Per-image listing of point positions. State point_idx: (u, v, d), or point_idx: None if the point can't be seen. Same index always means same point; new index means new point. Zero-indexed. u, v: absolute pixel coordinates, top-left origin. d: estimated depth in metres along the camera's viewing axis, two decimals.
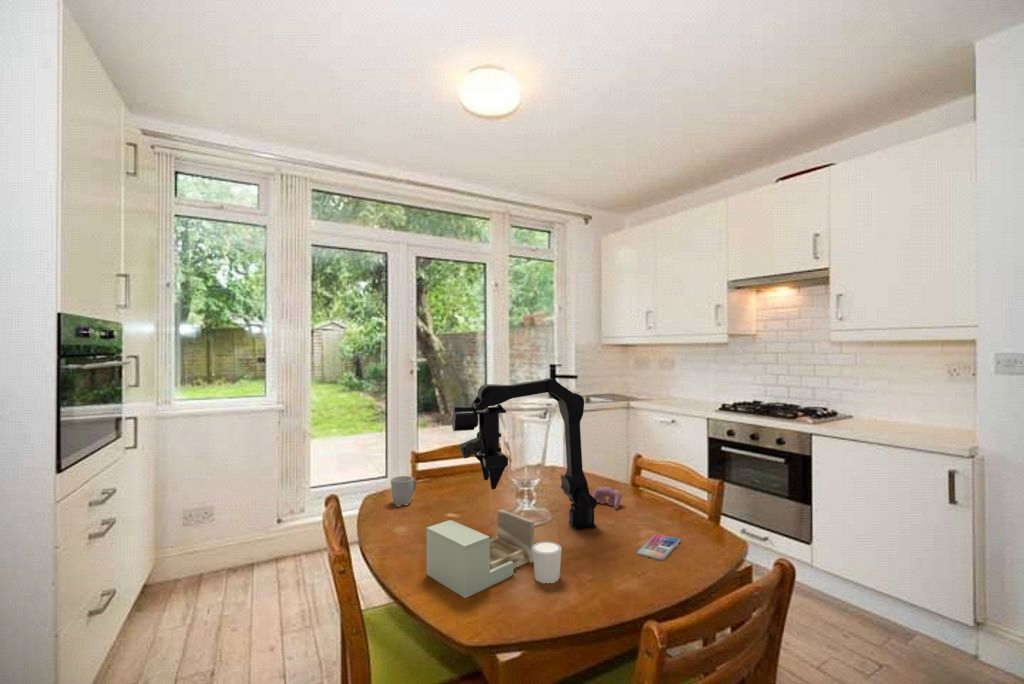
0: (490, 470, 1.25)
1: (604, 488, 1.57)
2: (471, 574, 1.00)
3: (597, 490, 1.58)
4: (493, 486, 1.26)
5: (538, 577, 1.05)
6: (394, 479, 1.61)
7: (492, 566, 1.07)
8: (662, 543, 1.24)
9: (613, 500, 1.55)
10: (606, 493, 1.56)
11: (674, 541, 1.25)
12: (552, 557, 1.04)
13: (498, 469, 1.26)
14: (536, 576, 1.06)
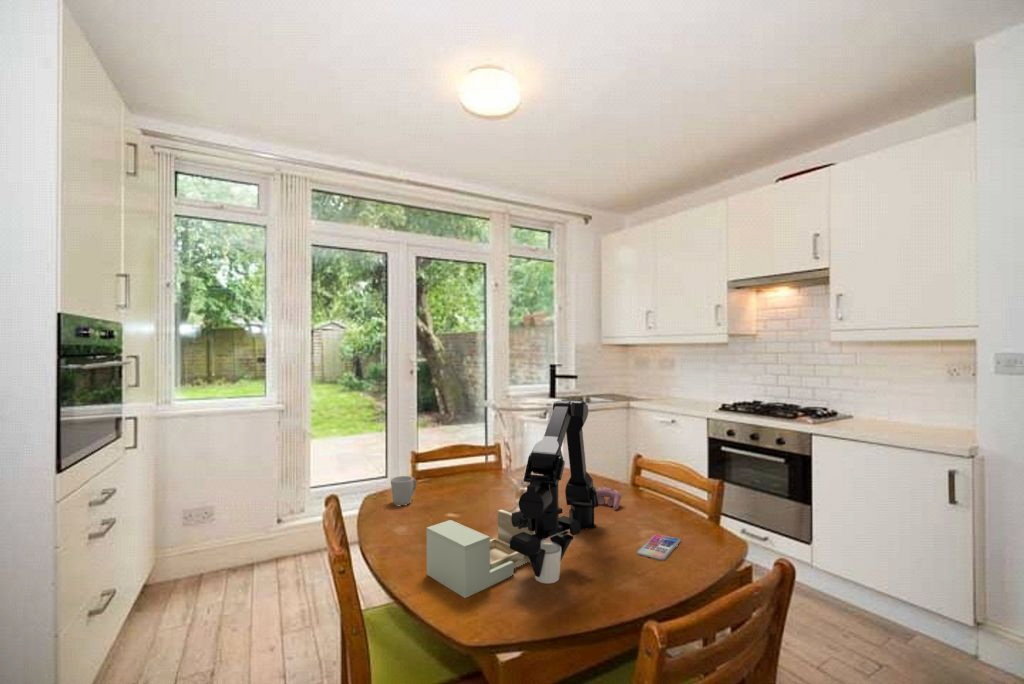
0: None
1: (603, 489, 1.56)
2: (471, 574, 1.00)
3: (596, 491, 1.57)
4: (536, 573, 1.05)
5: (538, 577, 1.05)
6: (394, 479, 1.61)
7: (492, 566, 1.07)
8: (662, 543, 1.24)
9: (612, 501, 1.55)
10: (605, 494, 1.55)
11: (674, 541, 1.25)
12: (552, 557, 1.04)
13: None
14: (536, 576, 1.06)
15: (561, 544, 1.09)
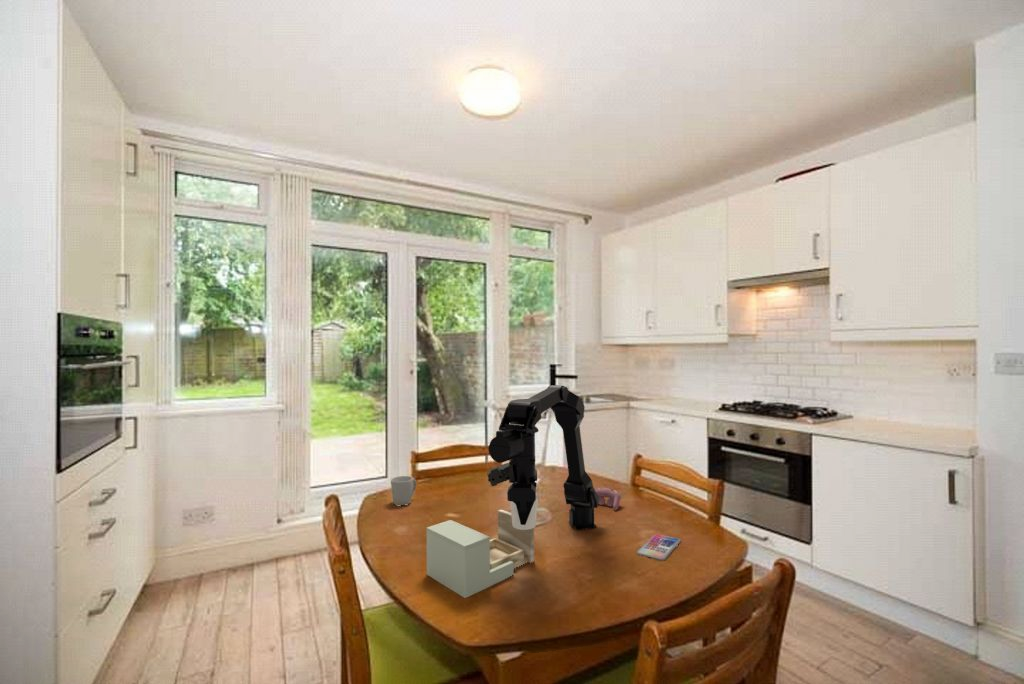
0: (517, 502, 1.05)
1: (603, 489, 1.56)
2: (471, 574, 1.00)
3: (596, 491, 1.57)
4: (523, 521, 1.07)
5: (523, 525, 1.07)
6: (394, 479, 1.61)
7: (492, 566, 1.07)
8: (662, 543, 1.24)
9: (612, 501, 1.54)
10: (605, 494, 1.55)
11: (674, 541, 1.25)
12: (536, 501, 1.09)
13: (527, 502, 1.06)
14: (520, 525, 1.08)
15: None
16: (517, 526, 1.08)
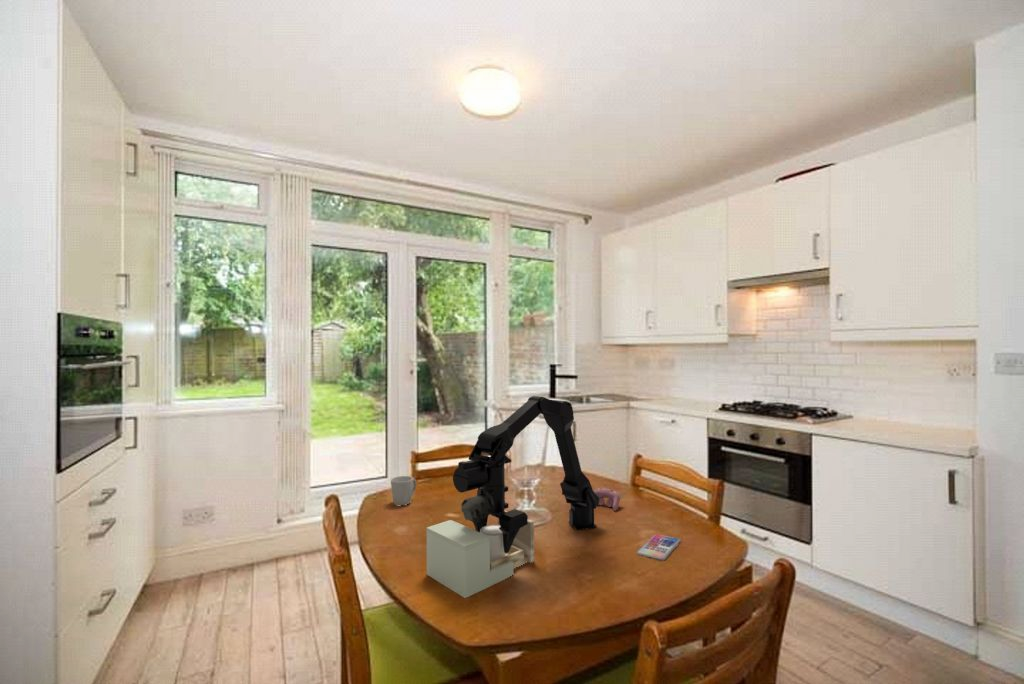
0: (508, 532, 1.09)
1: (603, 489, 1.56)
2: (471, 574, 1.00)
3: (596, 491, 1.56)
4: (507, 550, 1.11)
5: None
6: (394, 479, 1.61)
7: (492, 566, 1.07)
8: (662, 543, 1.24)
9: (612, 501, 1.54)
10: (605, 494, 1.54)
11: (674, 541, 1.25)
12: None
13: (513, 529, 1.11)
14: None
15: None
16: None
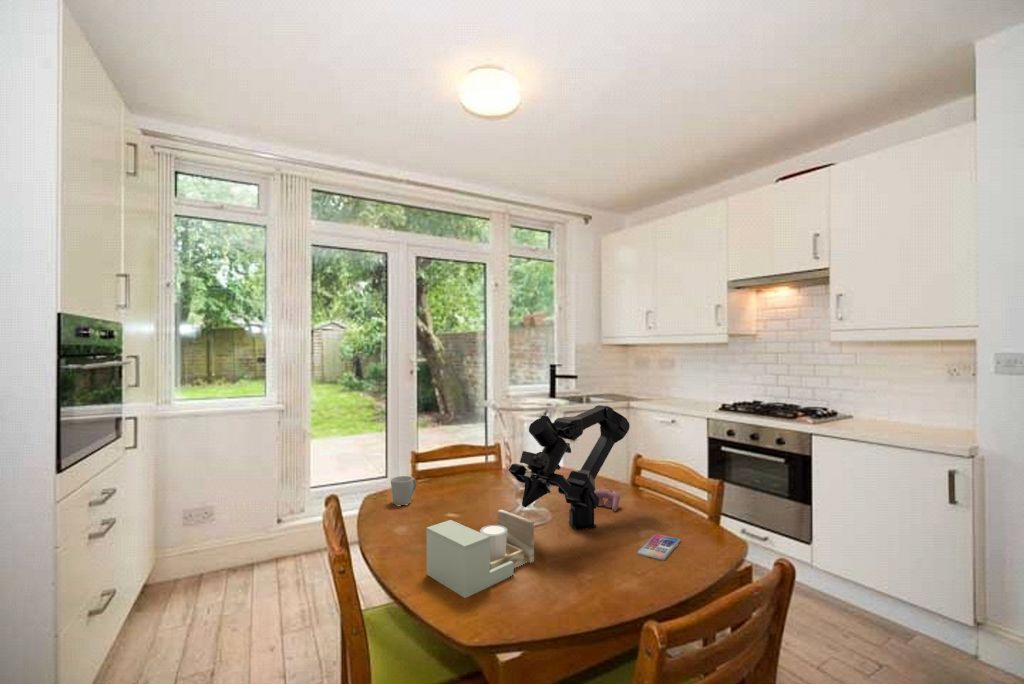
0: (537, 486, 1.22)
1: (602, 490, 1.55)
2: (471, 574, 1.00)
3: (595, 492, 1.56)
4: (526, 504, 1.22)
5: None
6: (394, 479, 1.61)
7: (492, 566, 1.07)
8: (662, 543, 1.24)
9: (611, 502, 1.53)
10: (604, 495, 1.54)
11: (674, 541, 1.25)
12: None
13: (540, 491, 1.24)
14: None
15: None
16: None
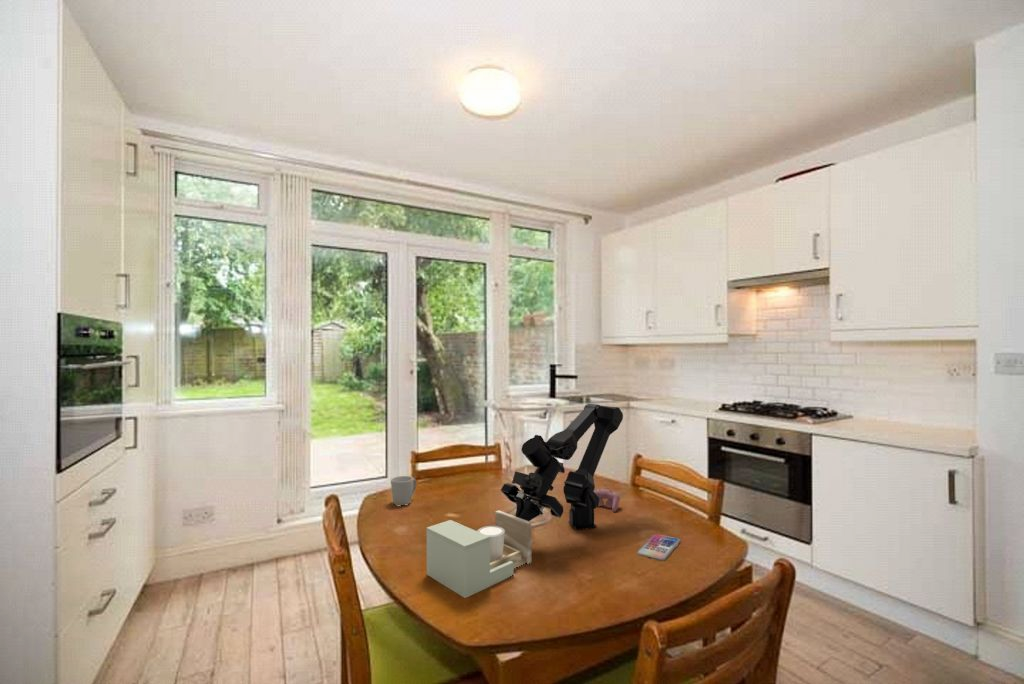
0: (529, 508, 1.20)
1: (602, 490, 1.55)
2: (471, 574, 1.00)
3: (595, 492, 1.55)
4: None
5: None
6: (394, 479, 1.61)
7: None
8: (662, 543, 1.24)
9: (611, 502, 1.53)
10: (604, 495, 1.54)
11: (674, 541, 1.25)
12: None
13: (532, 512, 1.21)
14: None
15: None
16: None
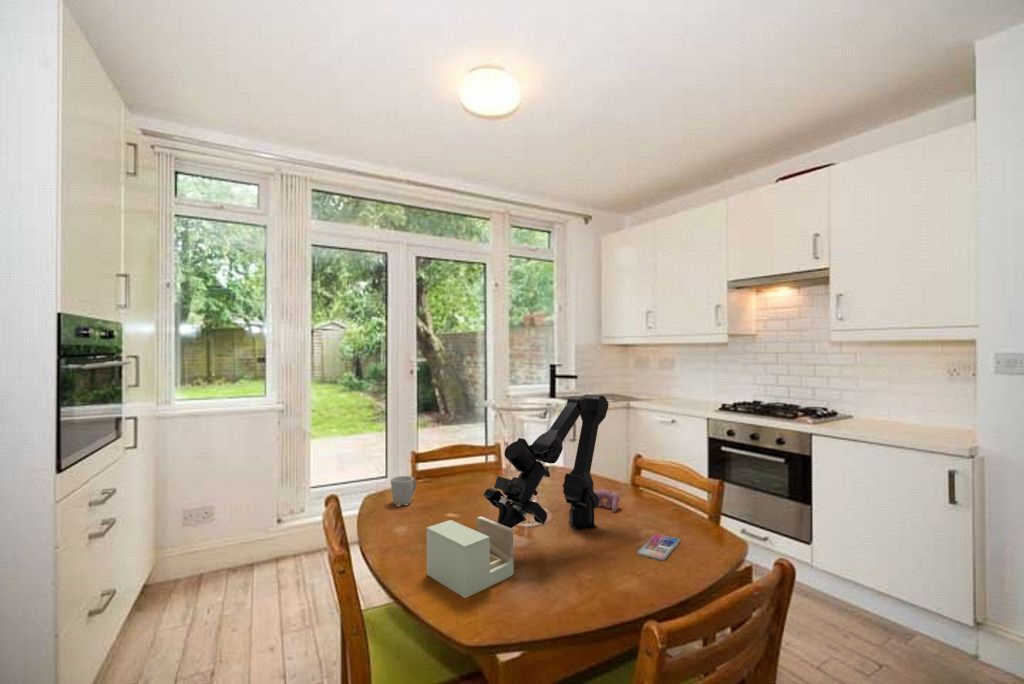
0: (512, 514, 1.16)
1: (602, 490, 1.54)
2: (471, 574, 1.00)
3: (594, 492, 1.55)
4: None
5: None
6: (394, 479, 1.61)
7: None
8: (662, 543, 1.24)
9: (611, 503, 1.53)
10: (604, 496, 1.53)
11: (674, 541, 1.25)
12: None
13: (515, 518, 1.17)
14: None
15: None
16: None
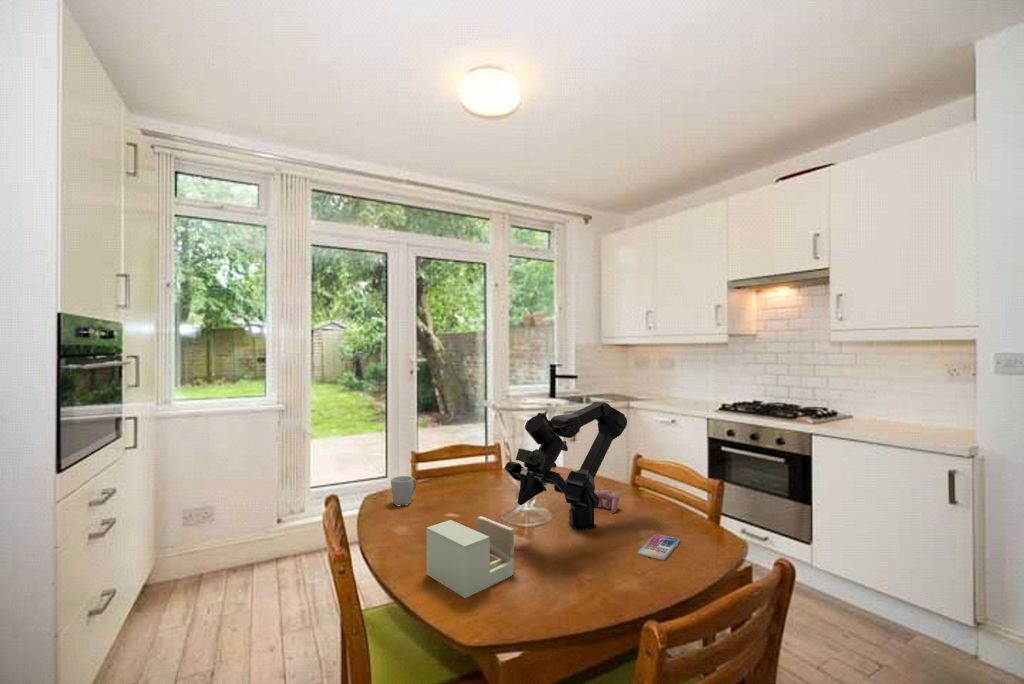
0: (533, 484, 1.21)
1: (601, 491, 1.54)
2: (471, 574, 1.00)
3: None
4: (521, 502, 1.21)
5: None
6: (394, 479, 1.61)
7: None
8: (662, 543, 1.24)
9: (610, 503, 1.52)
10: (603, 496, 1.53)
11: (673, 541, 1.25)
12: None
13: (536, 489, 1.23)
14: None
15: None
16: None
